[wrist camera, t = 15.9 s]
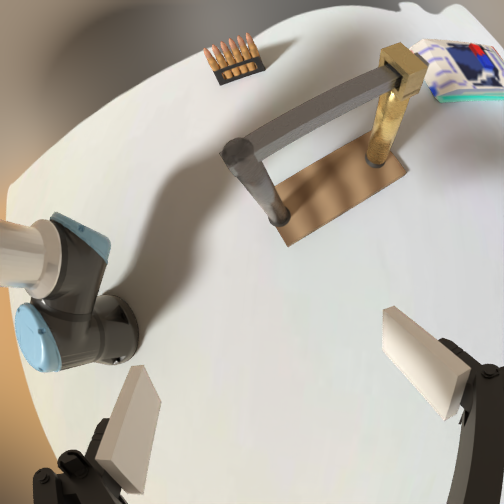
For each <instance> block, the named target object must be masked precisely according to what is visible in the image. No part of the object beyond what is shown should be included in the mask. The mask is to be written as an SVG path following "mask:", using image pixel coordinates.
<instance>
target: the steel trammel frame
mask: <svg viewBox="0 0 504 504" xmlns="http://www.w3.org/2000/svg"><path fill="white" fill-rule="evenodd" d="M414 54H415V55H416V56H417V57H418V58H419V59H420V60H421V61H422V62H423V63H424V64H426V65H427V66H428V67H429V63H428V62H427V61H426V60H425V59H424V58H423V57H422V56H421V55H420V54H418V53H417V52H416V53H414ZM402 78H403V76H402V75H401V74H400V73H399V72H398V71H397V70H396V69H395V68H394V67H392V66H391V65H390V64H389V63H388V64H386V65H383V66H381V67H379V68H376V69H374V70H372V71H369V72H367V73H365V74H363V75H360V76H358V77H356V78H354V79H352V80H349V81H347V82H345V83H343V84H341V85H339V86H337V87H335V88H333V89H331V90H329V91H327V92H325V93H323V94H321V95H319V96H317V97H315V98H313V99H311V100H309V101H307V102H305V103H303V104H302V105H300V106H298V107H296V108H294V109H292V110H290V111H289V112H287V113H285V114H283V115H281V116H280V117H278V118H276V119H274V120H273V121H271V122H269V123H267V124H266V125H264V126H262V127H261V128H259V129H257V130H255V131H254V132H252V133H250V134H249V135H247V136H245V137H244V138H235V139H233V140H231V141H229V142H228V143H227V144H226V145H225V146H224V148H223V151H222V152H220V153H219V154H220V156H221V157H222V159H223V160H224V162H225V164H226V165H227V167H228V169H229V170H230V171H231V172H232V174H233V175H234V176H235V177H237V178H238V179H239V180H240V181H241V183H242V184H243V185H244V186H245V188H246V189H247V190H248V191H249V193H250V194H251V195H252V196H253V198H254V199H255V200H256V201H257V203H258V204H259V205H260V206H261V208H262V209H263V210H264V211H265V213H266V214H267V215H268V216H269V218H270V219H271V220H272V221H273V223H275V224H278V225H281V224H284V223H285V222H286V221H287V219H288V212H287V210H286V208H285V206H284V204H283V202H282V200H281V198H280V196H279V194H278V192H277V190H276V188H275V186H274V184H273V182H272V180H271V179H270V177H269V175H268V173H267V171H266V169H265V167H264V165H263V163H262V161H261V160H263V159H265V158H266V157H268V156H270V155H271V154H273V153H275V152H276V151H278V150H280V149H281V148H283V147H285V146H287V145H288V144H290V143H292V142H293V141H295V140H297V139H299V138H300V137H302V136H304V135H306V134H308V133H309V132H311V131H313V130H315V129H316V128H318V127H320V126H322V125H324V124H326V123H327V122H329V121H331V120H333V119H335V118H337V117H339V116H341V115H342V114H344V113H346V112H348V111H350V110H352V109H354V108H356V107H358V106H360V105H362V104H364V103H366V102H368V101H370V100H372V99H374V98H376V97H378V96H380V95H382V94H384V93H386V92H388V91H390V90H392V89H395V88H397V87H399V86H400V85H401V82H402Z"/></svg>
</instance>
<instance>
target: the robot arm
mask: <svg viewBox="0 0 504 504" xmlns="http://www.w3.org/2000/svg"><path fill="white" fill-rule="evenodd" d="M110 249H111V243H110V240H109V239H108V238H107V237H106V236H104V235H102V234H100V233H98V232H96V231H94V230H92V229H90V228H88V227H86V226H84V225H82V224H80V223H78V222H76V221H74V220H72V219H70V218H68V217H66V216H64V215H62V214H60V213H58V212H54V213H53V215H52V216H51V217H50V221H49V220H43V219H41V220H38V221H36V222H34V223H33V224H32V225H31V226H30V227H28V226H24V225H20V224H16V223H12V222H8V221H4V220H0V287H13V288H24V289H25V290H26V292H27V293H28V294H29V295H30V296H31V301H30V303H24V304H22V305H20V307H19V308H18V309H17V312H16V316H15V329H16V336H17V340H18V343H19V346H20V349H21V351H22V353H23V355H24V357H25V358H26V360H27V361H28V363H29V364H30V365H31V366H32V367H33V368H34V369H36V370H37V371H40V372H53V371H54V372H58V371H61V370H65V369H69V368H73V367H77V366H80V365H84V364H88V363H92V362H96V363H101V364H106V365H118V364H121V363H124V362H126V361H128V360H129V359H130V358H131V357H132V356H133V354H134V353H135V351H136V348H137V345H138V336H139V335H138V326H137V321H136V318H135V316H134V314H133V312H132V310H131V308H130V307H129V306H128V304H127V303H126V302H125V301H123V300H122V299H121V298H119V297H117V296H114V295H100V296H97V295H98V292H99V288H100V285H101V282H102V278H103V275H104V272H105V269H106V266H107V264H108V256H109V253H110ZM382 350H383V352H384V353H385V354H386V355H387V356H388V357H389V358H390V359H391V360H392V362H393V363H394V364H395V365H396V366H397V367H398V368H399V369H400V371H401V372H402V373H403V374H404V375H405V376H406V377H407V378H408V380H409V381H410V382H411V383H412V384H413V385H414V386H415V388H416V389H417V390H418V391H419V392H420V393H421V394H422V396H423V397H424V398H425V399H426V400H427V401H428V403H429V404H430V405H431V406H432V407H433V408H434V410H435V411H436V412H437V413H438V414H439V415H440V417H441V418H442V419H443V420H444V421H445V420H447V419H449V418H450V417H452V416H454V415H455V414H457V412H458V409H459V406H460V405H461V406H462V407H463V408H464V411H463V414H462V417H461V419H460V422H459V424H461V422H462V426H461V434H460V442H459V448H458V455H457V460H456V466H455V471H454V475H453V480H452V484H451V489H450V493H449V496H448V500H447V504H500V498H501V491H502V483H503V474H504V366H503V367H500V368H499V367H498V366H496V365H493V364H484V365H481V364H480V363H479V362H478V361H476V360H475V359H474V358H473V357H471V356H470V355H469V354H468V353H466V352H465V351H463V349H461V348H460V347H458V346H457V345H456V344H455V343H454V342H452V341H450V340H448V339H445V338H441V339H439V340H437V339H435V338H434V337H433V336H432V335H430V334H429V333H428V332H427V331H425V330H424V329H423V328H422V327H420V326H419V325H418V324H417V323H415V322H414V321H413V320H412V319H410V318H409V317H408V316H407V315H405V314H404V313H403V312H401V311H400V310H399V309H398V308H396V307H395V306H392V307H389V308H386V309H383V343H382ZM160 407H161V400H160V398H159V396H158V394H157V392H156V390H155V388H154V386H153V384H152V382H151V380H150V377H149V375H148V373H147V371H146V369H145V367H144V365H139V366H131V368H130V370H129V373H128V375H127V377H126V380H125V382H124V385H123V387H122V389H121V392H120V394H119V397H118V399H117V402H116V404H115V407H114V409H113V412H112V414H111V417H110V418H103V419H102V421H101V422H100V423H99V424H98V425H97V427H96V429H95V432H94V435H93V437H92V441H91V442H90V444H89V447H88V449H87V452H86V454H85V457H84V456H83V455H82V453H81V452H80V451H78V450H68V451H66V452H64V453H63V454H61V456H60V457H59V459H58V462H57V464H58V467H59V468H60V469H61V470H62V471H63V472H64V473H63V474H55V473H54V472H53V471H52V470H51V469H50V468H42V469H39V470H38V471H37V472H36V473H35V475H34V477H33V499H34V504H128V503H127V502H126V500H125V499H124V498H123V497H122V496H121V495H120V492H121V488H122V489H123V490H124V491H125V492H126V493H127V494H134V495H143V494H144V488H145V482H146V476H147V471H148V465H149V460H150V455H151V450H152V444H153V440H154V435H155V430H156V425H157V420H158V416H159V411H160Z"/></svg>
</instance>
